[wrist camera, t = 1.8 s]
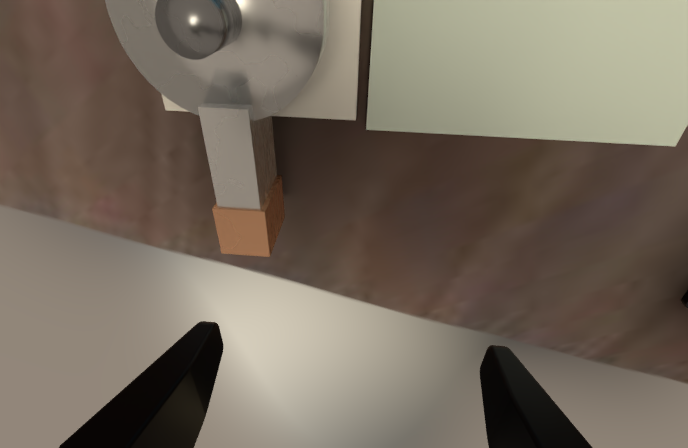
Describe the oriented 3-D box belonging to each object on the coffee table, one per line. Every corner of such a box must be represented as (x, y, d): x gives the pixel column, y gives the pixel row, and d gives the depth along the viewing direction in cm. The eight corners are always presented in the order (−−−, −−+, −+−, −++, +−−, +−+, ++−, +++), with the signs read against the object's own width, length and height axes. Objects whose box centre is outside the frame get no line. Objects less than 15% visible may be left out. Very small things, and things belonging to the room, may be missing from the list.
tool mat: (667, 141, 18) (675, 146, 17) (366, 125, 18) (366, 129, 18) (832, -161, 12) (852, -166, 11) (384, -167, 13) (384, -172, 12)
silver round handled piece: (331, 219, 19) (318, 282, 16) (197, 210, 20) (154, 270, 16) (332, -117, 12) (310, -150, 8) (118, -121, 12) (3, -156, 9)
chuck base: (356, 114, 18) (353, 133, 16) (173, 104, 18) (148, 122, 17) (368, -146, 13) (365, -165, 11) (112, -151, 13) (66, -169, 11)
